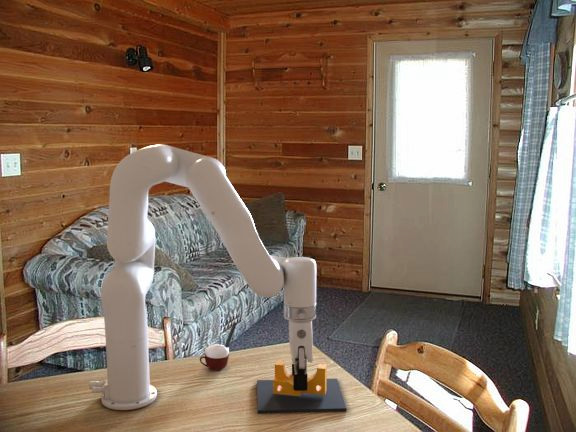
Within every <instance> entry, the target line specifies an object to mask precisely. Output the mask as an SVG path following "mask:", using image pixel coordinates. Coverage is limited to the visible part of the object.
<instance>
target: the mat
mask: <svg viewBox="0 0 576 432" xmlns="http://www.w3.org/2000/svg"><path fill="white" fill-rule="evenodd" d="M273 380H274V379H257V380H256V394H257V395H256V399H257V401H256V402H257V403H256V404H257V414H262V415H263V414H264V415H265V414H298V413H299V414H301V413H302V414H303V413H339V412H340V413H343V412H345V413H346V412H347V411H348V409H347V405H346V403H345V398H344V396H343V393H342V390H341V386H340V383H339V379H338V378H337V377H336V378H327V385H326V393H325V395H319V394H308V393H301V396H293V395H282V394H273ZM318 386H319V385H318Z"/></svg>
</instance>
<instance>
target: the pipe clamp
mask: <svg viewBox="0 0 576 432" xmlns="http://www.w3.org/2000/svg"><path fill="white" fill-rule="evenodd" d="M327 367H328V365H327V364H325V363H318V364H317V367H316V371H315V372H314V374H312V375H311V376H308V377H307V390H306V391H294V389H293V375H292V372H290V371H289V369H288V368H287V365H286V360H276V361H275V363H274V378H273V379H272V380H273V394H282V395H293V396H301V393H308V394H319V395H325V393H326V385H327V379H328V378H327V377H328V376H327V375H328V368H327ZM318 385H319V386H318Z"/></svg>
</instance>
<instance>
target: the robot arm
mask: <svg viewBox="0 0 576 432" xmlns="http://www.w3.org/2000/svg"><path fill="white" fill-rule="evenodd" d="M164 182H165V183H169V184H172V185H173V184H174V185H177V186H180V187H185V188H188V189H189V191H190V193H191V195H192V196H193V198H194V199H195V201H196V202H197V204H198V205H199V207H200V208H201V209H202V211H203V212H204V214H205V216H206V217H207V219H208V220H209V222H210V223H211V225H212V226H213V228H214V229H215V231H216V233H217V234H218V236H219V238H220V241H221V242H222V245H223V246H224V248H225V250H226V251H227V253H228V254H229V256H230V258H231V260H232V262H233V263H234V265H235V267H236V269H237V270H238V272H239V273H240V274H241V276H242V278H243V279H244V280H245V282H246V284H247V286H248V287H249V288H250V289H251V291H252V292H253V293H254V294H256V295H257V296H258V297H262V298H273V297H275V296H276V295H278V294H279V293H280V292H281V291H282V289H283V318H284V319H285V320H286V321H288V342H289V343H288V344H289V351H290V357H291V362H292V363H291V374H292V375H293V389H294V391H306V390H307V378H308V367H307V366H308V363H310V364H312V363H313V361H314V339H313V336H314V335H313V332H314V331H313V321H314V320H316V318H317V278H318V277H317V276H318V275H317V271H318V270H317V263H316V260H315V259H313V258H311V257H306V256H293V257H285V256H277V255H270V254H269V252H268V251H267V249H266V247H265V245H264V243H263V241H262V240H261V238H260V236H259V233H258V231H257V229H256V226H255V223H254V219H253V217H252V215H251V213H250V211H249V209H248V207H247V206H246V205H245V203H244V202H243V200H242V198H240V196H239V194H238V193H237V191H236V190H235V188H234V186H233V185H232V183H231V181H230V180H229V178H228V176H227V173H226V169H225V167H224V165H223V164H222V162H221V161H220V160H218V159H217V158H214V157H212V156H209V155H203V154H199V153H196V152H192V151H190V150H185V149H182V148H178V147H175V146H171V145H168V144H163V143H162V144H161V143H159V144H158V143H157V144H154V145H153V144H152V145H147V146H144V147H142V148H139V149H136V150H135V151H133V152H131V153H129V154H127V155H126V156H124V157H123V158H122V159H121V160H120V161H119V162H118V163H117V165H116V167H115V168H114V170H113V172H112V175H111V178H110V184H109V197H108V198H109V202H108V215H107V231H106V232H107V233H106V234H107V235H106V247H107V251H108V253H109V255H110V257H112V258H113V259H114V268H113V269H112V270H111V271H110V272H109V273H108V274H107V275H106V276H105V278H104V280H103V282H102V285H101V289H100V301H101V307H102V313H103V322H104V337H105V358H106V377H107V379H103V380H101V381H99V380H90V381H89V386H88V387H89V388H88V389H89V390H91V393H92V394H101V393H102V394H101V397H100V398H101V399H100V400H101V404H102V405H103V406H104V407H105V408H108V409H110V410H115V411H130V410H137V409H140V408H141V409H142V408H145V407H146V406H148V405H151V404H152V403H154V401H156V398H158V397H157V396H158V392H157V388H156V387H155V386H153V385H151V381H150V379H151V377H150V356H149V355H150V352H149V351H150V350H149V326H148V314H147V308H146V297H147V294H148V292H149V290H150V289H151V288H152V284H153V282H154V276H155V275H154V274H155V255H156V231H155V227H154V225H153V223H152V222H151V221H150V219H148V212H149V191H150V190H151V188H152V187H153V186H156V185H158V184H162V183H164Z"/></svg>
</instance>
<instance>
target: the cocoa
mask: <svg viewBox="0 0 576 432" xmlns="http://www.w3.org/2000/svg"><path fill="white" fill-rule="evenodd" d="M237 324H238V322H237V321H236V320H234V321H233V322H232V327H231V328H230V332H229V333H228V336H227V339H226V341H225V343H224V345H223V344H220V343H219V344H218V343H214V344H212V345H209V346H207V347H205V348H204V355H201V356H200V357H199V362H200V363H201V364H202V365H203V366H204V367H207V368H209V369H210V370H213V371H220V370H223V369H224V368H226V367H227V365H228V362H229V358H230V357H229V356H230V349H229V345H230V343H231V340H232V337H233V335H234V332H235V329H236V327H237ZM202 359H204V362H205V363H204V362H203V361H202Z"/></svg>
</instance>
